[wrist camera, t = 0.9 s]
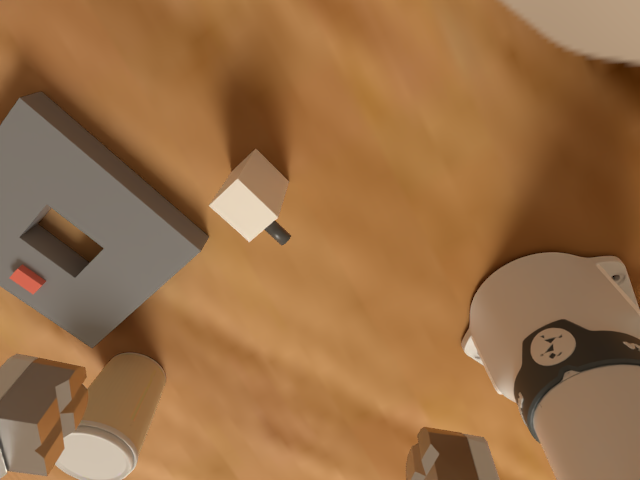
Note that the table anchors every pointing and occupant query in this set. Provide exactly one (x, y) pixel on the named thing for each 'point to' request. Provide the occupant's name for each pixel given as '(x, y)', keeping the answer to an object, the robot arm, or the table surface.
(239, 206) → the plug
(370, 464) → the table surface
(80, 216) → the socket plate
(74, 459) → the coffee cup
